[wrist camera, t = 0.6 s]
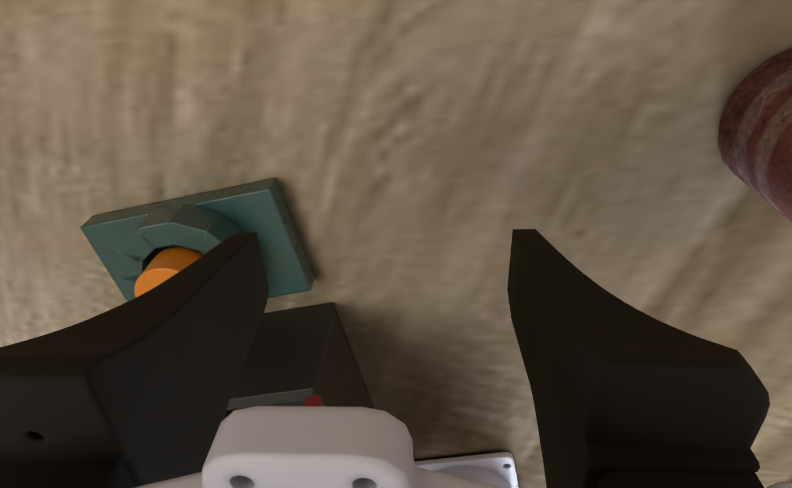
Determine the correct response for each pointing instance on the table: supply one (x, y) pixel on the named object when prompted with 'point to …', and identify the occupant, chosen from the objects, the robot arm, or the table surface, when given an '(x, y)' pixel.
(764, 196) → the can
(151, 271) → the button
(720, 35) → the table surface
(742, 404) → the robot arm
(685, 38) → the table surface
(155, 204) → the control block
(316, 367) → the dark open storage box
